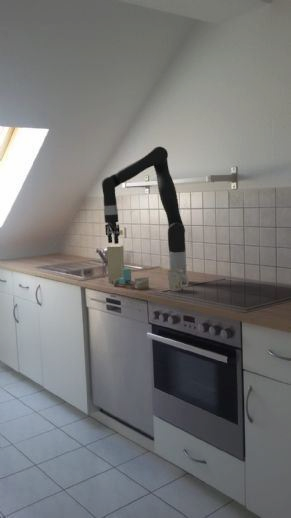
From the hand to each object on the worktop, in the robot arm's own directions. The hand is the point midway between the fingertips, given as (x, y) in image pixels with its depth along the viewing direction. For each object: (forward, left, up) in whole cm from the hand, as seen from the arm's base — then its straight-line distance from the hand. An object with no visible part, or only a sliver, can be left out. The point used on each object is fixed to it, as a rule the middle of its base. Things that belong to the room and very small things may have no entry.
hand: (113, 243), depth 282 cm
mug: (-37, +19, -24) cm, 48 cm away
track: (-10, +7, -24) cm, 26 cm away
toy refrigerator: (+1, -11, -24) cm, 26 cm away
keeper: (-6, +3, -22) cm, 23 cm away
